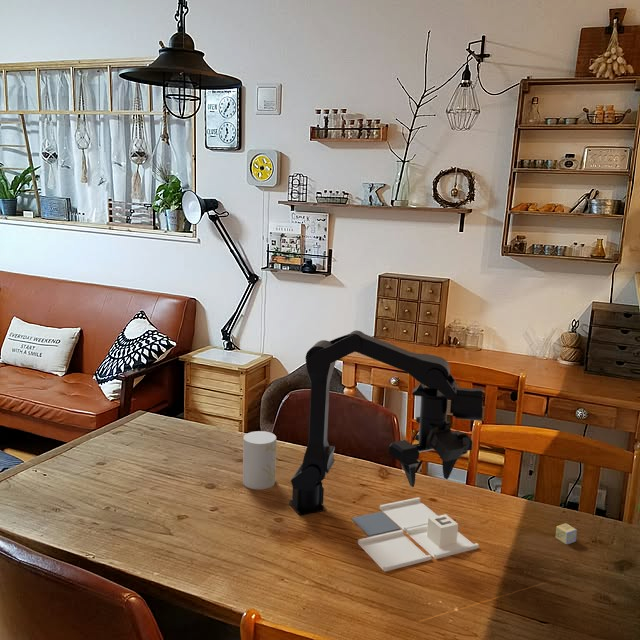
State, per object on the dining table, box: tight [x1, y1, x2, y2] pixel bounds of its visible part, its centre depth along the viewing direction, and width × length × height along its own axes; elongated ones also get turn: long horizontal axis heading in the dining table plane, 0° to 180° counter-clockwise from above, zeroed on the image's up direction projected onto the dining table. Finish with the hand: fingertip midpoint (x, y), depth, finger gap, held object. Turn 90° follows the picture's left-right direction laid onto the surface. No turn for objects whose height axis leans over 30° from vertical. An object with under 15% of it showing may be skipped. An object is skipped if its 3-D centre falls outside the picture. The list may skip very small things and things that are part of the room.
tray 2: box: [357, 529, 432, 572], centre depth 133 cm, size 11×11×1 cm
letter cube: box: [427, 513, 459, 548], centre depth 138 cm, size 4×4×5 cm
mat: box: [350, 510, 401, 537], centre depth 144 cm, size 8×8×1 cm
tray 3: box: [405, 524, 480, 560], centre depth 138 cm, size 11×11×1 cm
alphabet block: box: [555, 523, 578, 545], centre depth 141 cm, size 3×3×3 cm
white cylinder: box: [242, 430, 277, 490], centre depth 161 cm, size 8×8×12 cm
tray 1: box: [379, 496, 439, 533], centre depth 148 cm, size 11×11×1 cm
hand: (429, 482), depth 142 cm, fingers open, 9 cm apart
